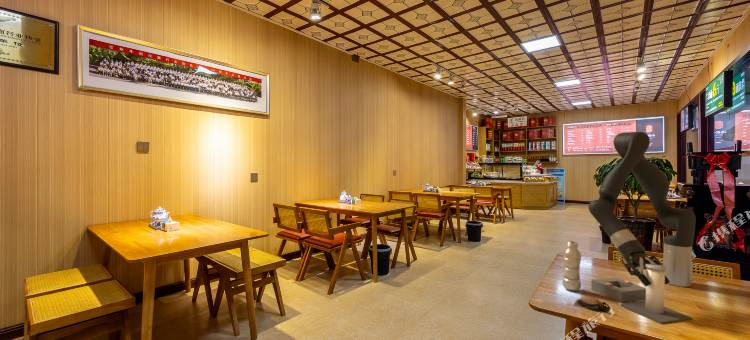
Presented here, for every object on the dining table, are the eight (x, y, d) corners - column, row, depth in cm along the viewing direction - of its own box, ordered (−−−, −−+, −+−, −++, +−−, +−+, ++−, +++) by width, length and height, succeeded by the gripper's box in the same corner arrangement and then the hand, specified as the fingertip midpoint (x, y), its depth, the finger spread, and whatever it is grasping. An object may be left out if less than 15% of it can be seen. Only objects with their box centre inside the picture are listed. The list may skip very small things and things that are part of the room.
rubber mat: (649, 302, 126) (649, 300, 126) (692, 319, 112) (692, 317, 112) (620, 305, 122) (620, 304, 122) (660, 323, 109) (660, 322, 109)
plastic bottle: (583, 293, 134) (584, 244, 133) (565, 292, 135) (566, 243, 135) (577, 287, 140) (578, 240, 140) (560, 286, 142) (561, 240, 141)
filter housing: (616, 286, 141) (616, 275, 141) (647, 299, 129) (648, 286, 129) (591, 289, 138) (591, 278, 138) (621, 302, 126) (621, 289, 126)
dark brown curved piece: (572, 307, 123) (572, 297, 122) (577, 300, 129) (577, 290, 129) (607, 316, 115) (607, 305, 115) (610, 308, 122) (610, 298, 122)
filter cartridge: (652, 306, 121) (653, 263, 120) (669, 313, 115) (670, 267, 115) (640, 307, 119) (641, 264, 119) (656, 314, 114) (658, 269, 114)
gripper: (619, 239, 123) (650, 281, 112) (648, 238, 126) (682, 277, 115) (605, 250, 128) (634, 290, 117) (634, 248, 131) (665, 287, 121)
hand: (658, 284), depth 116 cm, fingers open, 8 cm apart
